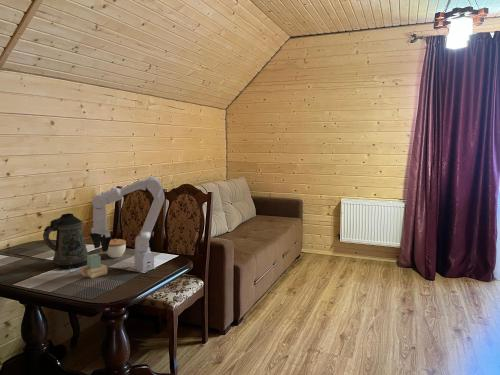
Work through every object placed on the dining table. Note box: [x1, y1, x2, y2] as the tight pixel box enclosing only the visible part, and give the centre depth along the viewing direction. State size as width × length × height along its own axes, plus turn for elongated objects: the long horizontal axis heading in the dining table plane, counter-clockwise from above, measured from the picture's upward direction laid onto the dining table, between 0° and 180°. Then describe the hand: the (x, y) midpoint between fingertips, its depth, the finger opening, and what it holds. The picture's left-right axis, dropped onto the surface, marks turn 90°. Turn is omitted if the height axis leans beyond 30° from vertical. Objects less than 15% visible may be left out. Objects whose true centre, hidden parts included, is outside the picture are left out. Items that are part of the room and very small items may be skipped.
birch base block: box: [80, 263, 108, 279], centre depth 180 cm, size 8×8×4 cm
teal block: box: [87, 253, 102, 269], centre depth 180 cm, size 4×4×5 cm
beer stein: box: [42, 212, 90, 270], centre depth 190 cm, size 16×19×25 cm
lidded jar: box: [105, 238, 127, 259], centre depth 207 cm, size 11×11×9 cm
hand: (101, 249), depth 183 cm, fingers open, 7 cm apart
